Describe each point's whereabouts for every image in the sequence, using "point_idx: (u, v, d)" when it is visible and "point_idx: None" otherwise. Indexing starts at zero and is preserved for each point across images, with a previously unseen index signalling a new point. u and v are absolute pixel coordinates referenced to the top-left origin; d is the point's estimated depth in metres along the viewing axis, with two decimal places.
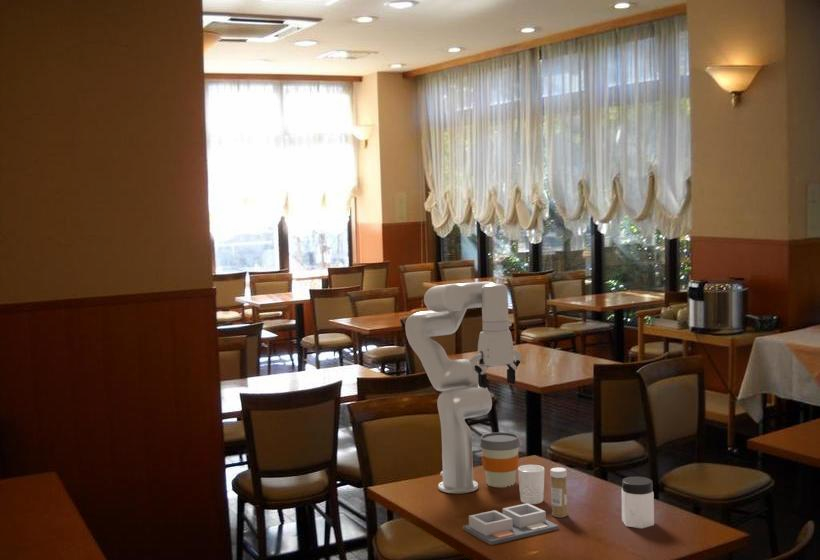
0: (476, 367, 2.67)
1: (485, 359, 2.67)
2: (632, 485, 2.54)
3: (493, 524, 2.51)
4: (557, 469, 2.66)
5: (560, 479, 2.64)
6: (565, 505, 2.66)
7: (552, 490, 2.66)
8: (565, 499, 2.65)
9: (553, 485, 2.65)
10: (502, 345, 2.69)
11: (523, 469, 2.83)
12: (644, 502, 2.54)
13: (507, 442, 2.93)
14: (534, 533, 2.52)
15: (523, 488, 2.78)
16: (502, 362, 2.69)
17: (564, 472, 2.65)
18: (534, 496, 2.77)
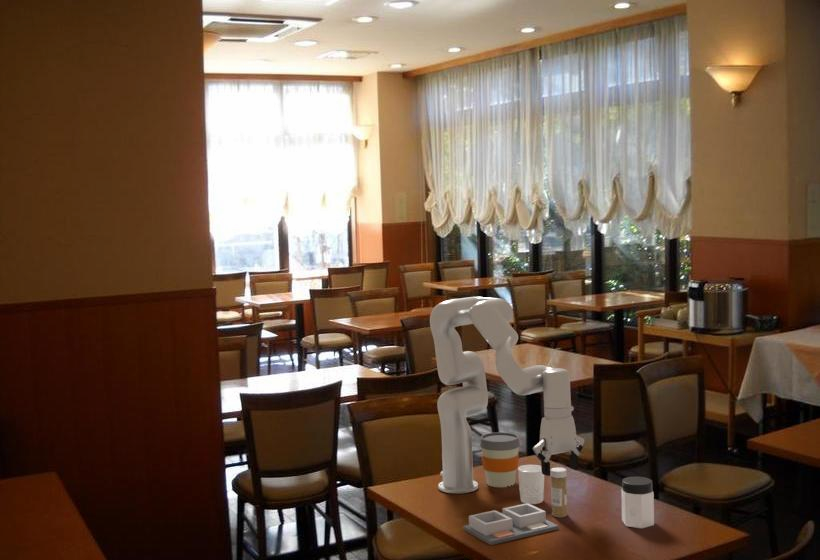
0: (539, 455, 2.61)
1: (549, 447, 2.61)
2: (632, 485, 2.54)
3: (493, 524, 2.51)
4: (557, 469, 2.66)
5: (560, 479, 2.64)
6: (565, 505, 2.66)
7: (552, 490, 2.66)
8: (565, 499, 2.65)
9: (553, 485, 2.65)
10: (565, 431, 2.63)
11: (523, 469, 2.83)
12: (644, 502, 2.54)
13: (507, 442, 2.93)
14: (534, 533, 2.52)
15: (523, 488, 2.78)
16: (565, 449, 2.64)
17: (564, 472, 2.65)
18: (534, 496, 2.77)
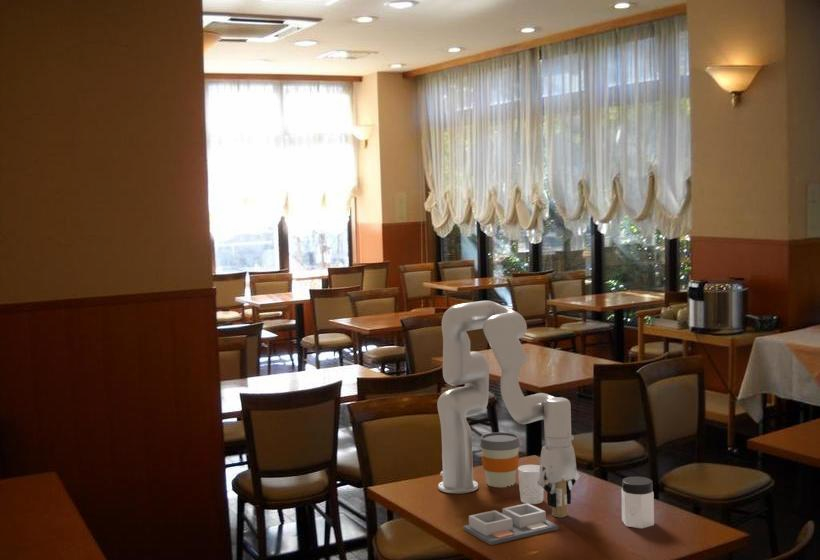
0: (546, 487, 2.63)
1: (548, 476, 2.62)
2: (632, 485, 2.54)
3: (493, 524, 2.51)
4: None
5: None
6: (565, 505, 2.66)
7: None
8: (565, 499, 2.65)
9: None
10: (565, 461, 2.64)
11: (523, 469, 2.83)
12: (644, 502, 2.54)
13: (507, 442, 2.93)
14: (534, 533, 2.52)
15: (523, 488, 2.78)
16: (565, 478, 2.65)
17: None
18: (534, 496, 2.77)
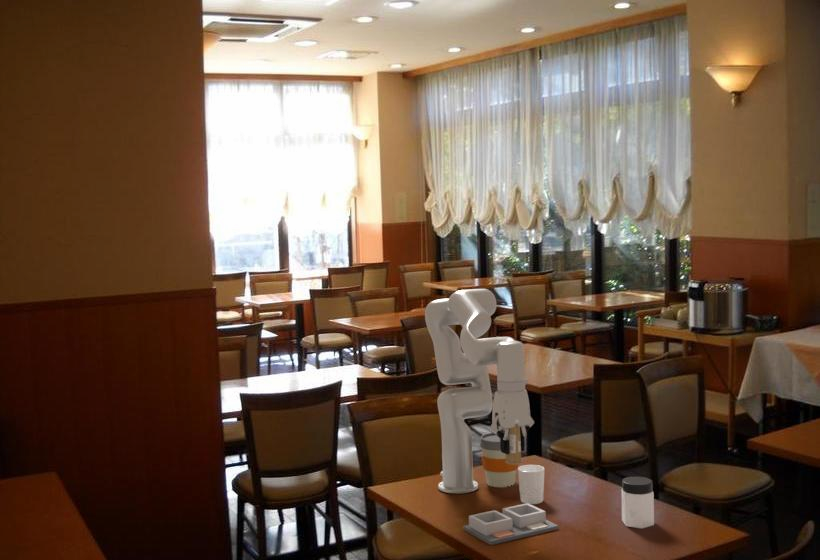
0: (498, 433, 2.54)
1: (501, 421, 2.53)
2: (632, 485, 2.54)
3: (493, 524, 2.51)
4: None
5: None
6: (519, 452, 2.57)
7: None
8: (519, 446, 2.56)
9: None
10: (518, 406, 2.55)
11: (523, 469, 2.83)
12: (644, 502, 2.54)
13: None
14: (534, 533, 2.52)
15: (523, 488, 2.78)
16: (518, 424, 2.56)
17: None
18: (534, 496, 2.77)
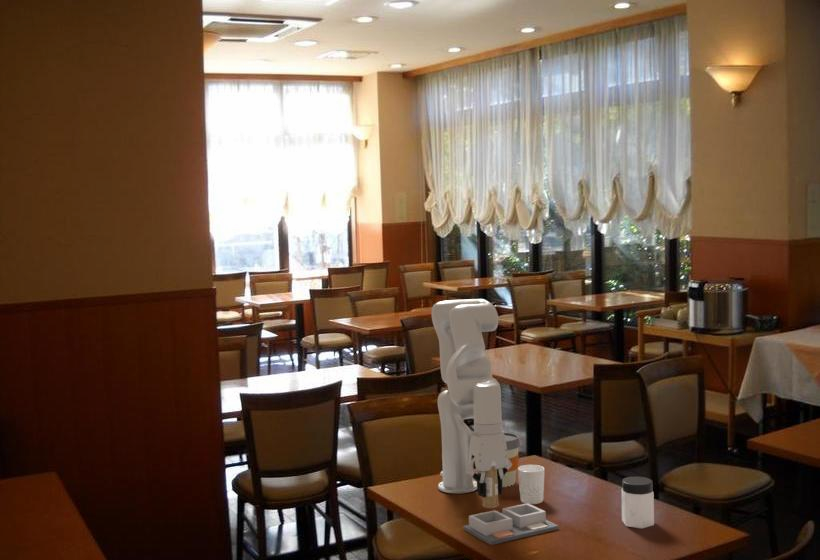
0: (475, 475, 2.52)
1: (477, 464, 2.50)
2: (632, 485, 2.54)
3: (493, 524, 2.51)
4: None
5: None
6: (496, 495, 2.53)
7: None
8: (496, 489, 2.53)
9: None
10: (495, 448, 2.52)
11: (523, 469, 2.83)
12: (644, 502, 2.54)
13: (507, 442, 2.93)
14: (534, 533, 2.52)
15: (523, 488, 2.78)
16: (495, 466, 2.53)
17: None
18: (534, 496, 2.77)
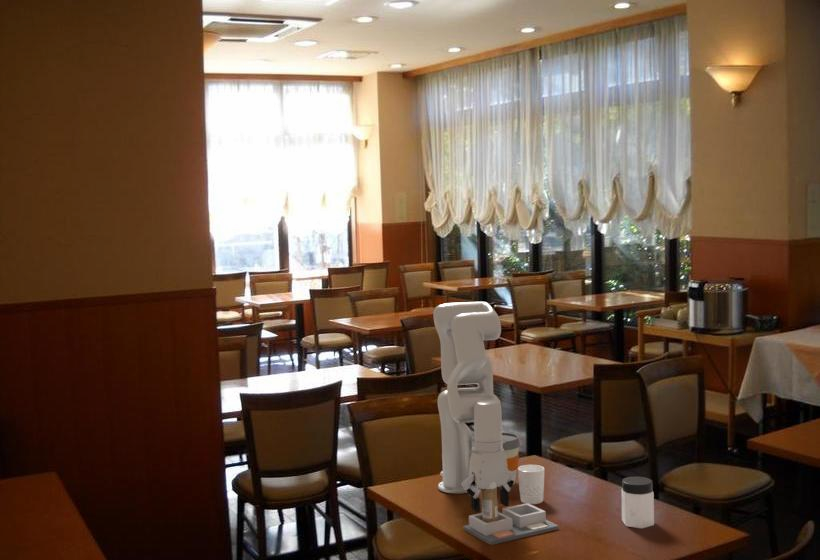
0: (468, 491, 2.51)
1: (477, 482, 2.51)
2: (632, 485, 2.54)
3: (493, 524, 2.51)
4: None
5: (490, 490, 2.53)
6: (496, 517, 2.54)
7: (482, 502, 2.54)
8: (496, 511, 2.54)
9: (483, 497, 2.54)
10: (495, 466, 2.53)
11: (523, 469, 2.83)
12: (644, 502, 2.54)
13: (507, 442, 2.93)
14: (534, 533, 2.52)
15: (523, 488, 2.78)
16: None
17: (494, 483, 2.53)
18: (534, 496, 2.77)
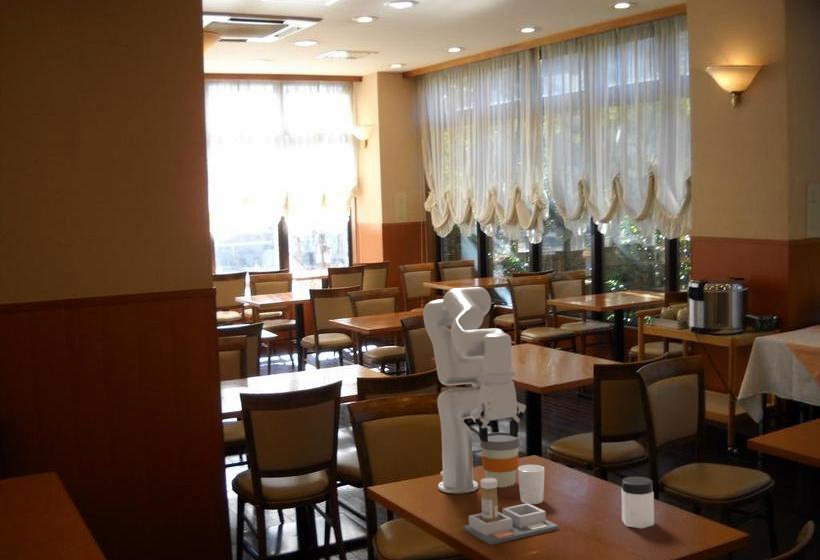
0: (477, 421, 2.55)
1: (486, 413, 2.55)
2: (632, 485, 2.54)
3: (493, 524, 2.51)
4: (487, 479, 2.55)
5: (490, 490, 2.53)
6: (496, 517, 2.54)
7: (482, 501, 2.55)
8: (496, 511, 2.54)
9: (483, 496, 2.54)
10: (504, 398, 2.57)
11: (523, 469, 2.83)
12: (644, 502, 2.54)
13: (507, 442, 2.93)
14: (534, 533, 2.52)
15: (523, 488, 2.78)
16: (504, 415, 2.58)
17: (494, 483, 2.53)
18: (534, 496, 2.77)
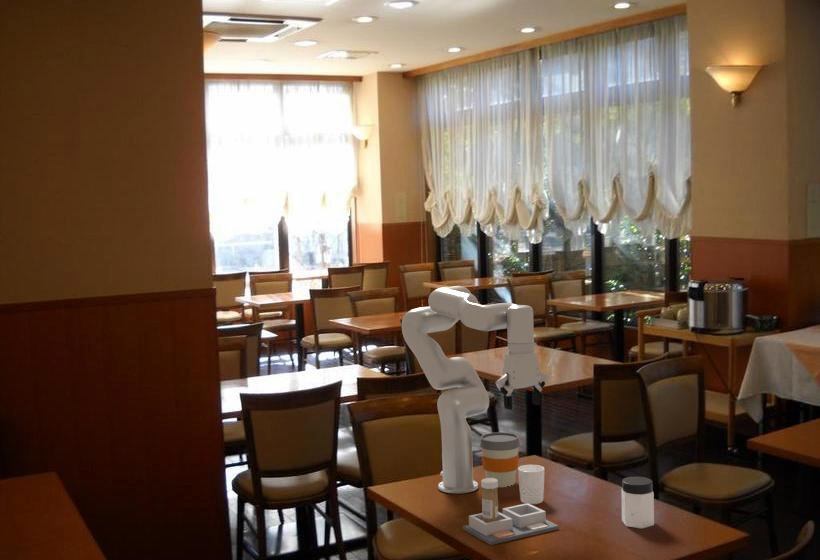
0: (502, 389, 2.67)
1: (511, 381, 2.67)
2: (632, 485, 2.54)
3: (493, 524, 2.51)
4: (488, 480, 2.55)
5: (491, 490, 2.53)
6: (496, 517, 2.54)
7: (483, 501, 2.55)
8: (496, 511, 2.54)
9: (483, 496, 2.54)
10: (528, 367, 2.68)
11: (523, 469, 2.83)
12: (644, 502, 2.54)
13: (507, 442, 2.93)
14: (534, 533, 2.52)
15: (523, 488, 2.78)
16: (527, 384, 2.69)
17: (495, 483, 2.53)
18: (534, 496, 2.77)
